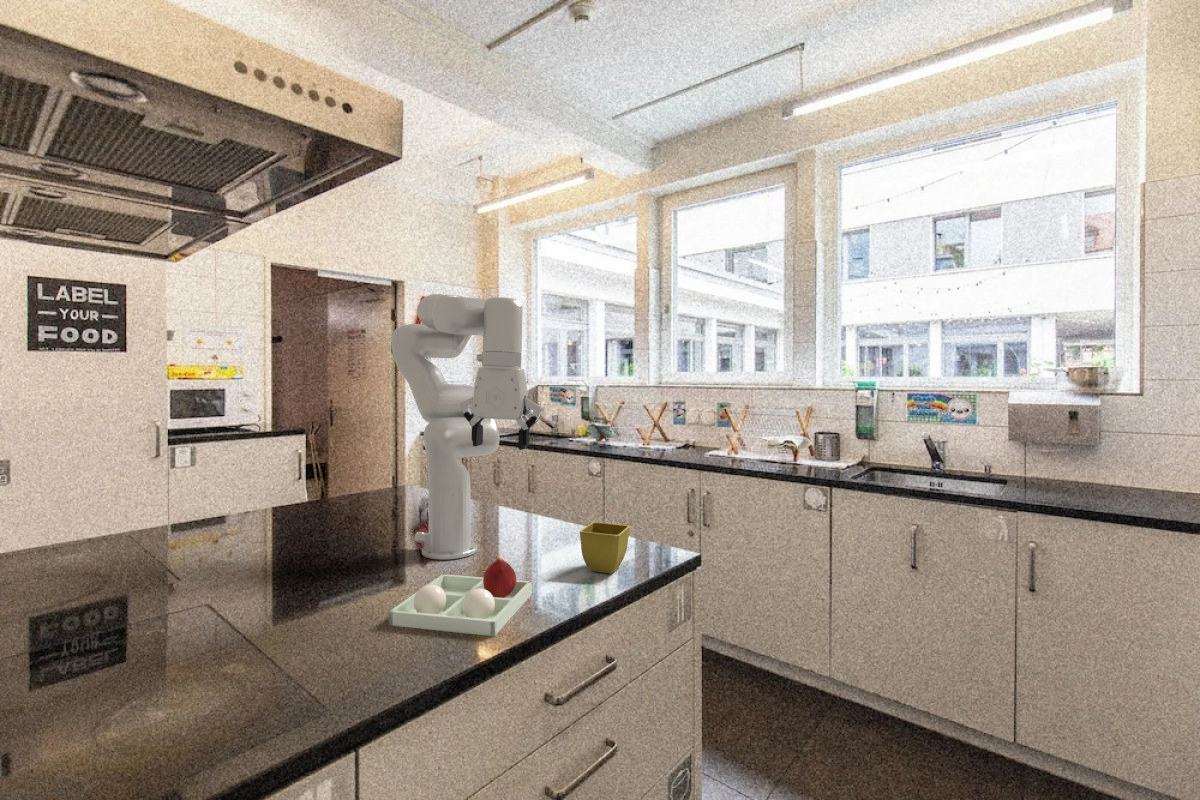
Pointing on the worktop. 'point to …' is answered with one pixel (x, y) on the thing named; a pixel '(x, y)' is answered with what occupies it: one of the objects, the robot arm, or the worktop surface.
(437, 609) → the egg near left
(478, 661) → the worktop surface
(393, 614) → the egg tray
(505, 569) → the onion
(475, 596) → the egg near right
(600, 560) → the flower pot
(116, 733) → the worktop surface
